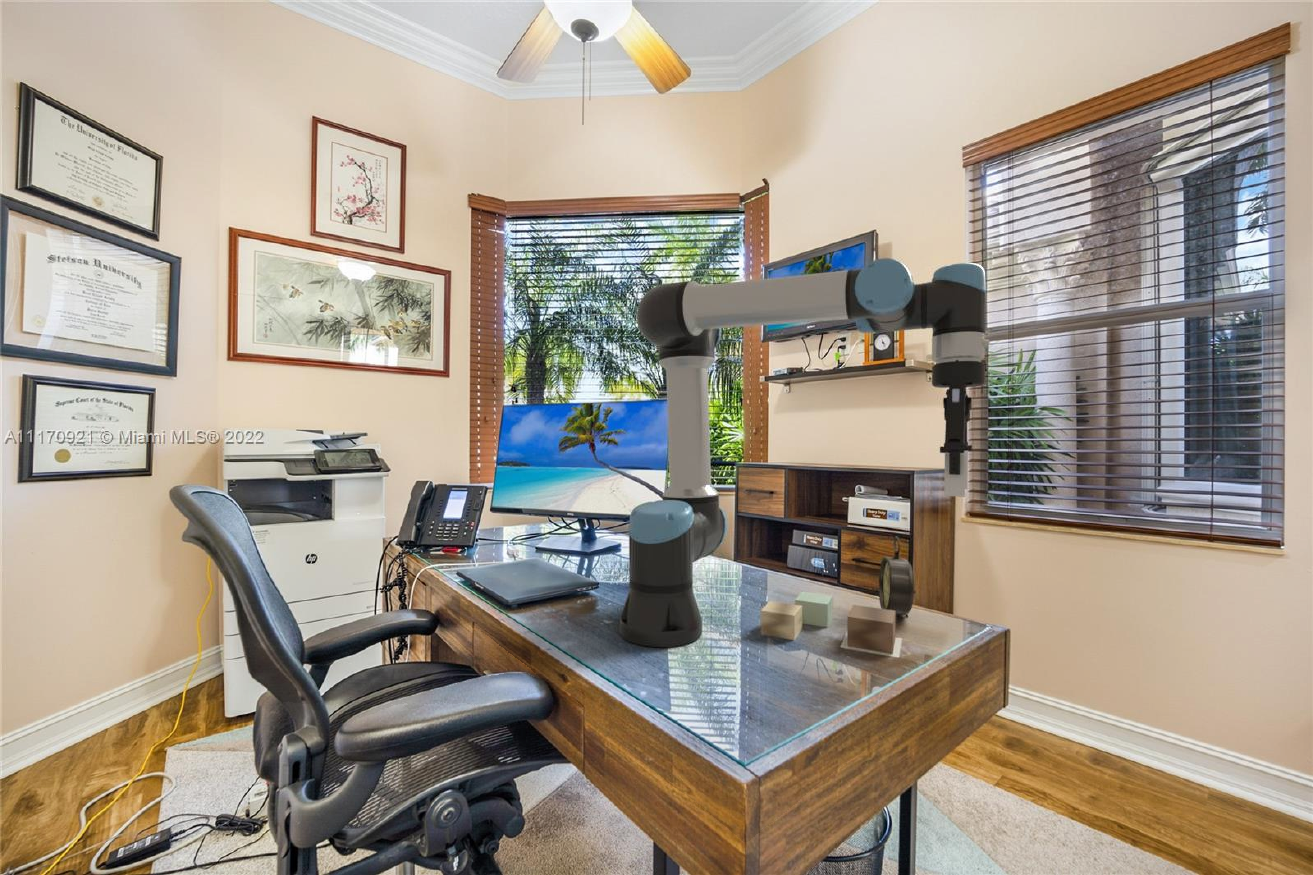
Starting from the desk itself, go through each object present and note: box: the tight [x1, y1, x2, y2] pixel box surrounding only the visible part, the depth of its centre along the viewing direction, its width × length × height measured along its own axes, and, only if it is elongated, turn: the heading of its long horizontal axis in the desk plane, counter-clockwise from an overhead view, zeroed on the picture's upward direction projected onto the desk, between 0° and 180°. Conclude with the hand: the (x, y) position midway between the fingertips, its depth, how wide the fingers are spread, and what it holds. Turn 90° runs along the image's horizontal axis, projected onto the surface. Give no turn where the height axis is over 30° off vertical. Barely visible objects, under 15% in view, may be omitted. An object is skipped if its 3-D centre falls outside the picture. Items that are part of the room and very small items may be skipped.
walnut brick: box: [846, 604, 896, 654], centre depth 91 cm, size 7×7×5 cm
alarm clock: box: [878, 536, 916, 624], centre depth 104 cm, size 11×5×16 cm, turn 167°
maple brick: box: [760, 600, 803, 641], centre depth 96 cm, size 6×6×5 cm
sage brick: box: [794, 591, 834, 628], centre depth 102 cm, size 6×6×5 cm
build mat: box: [840, 632, 903, 659], centre depth 91 cm, size 9×9×1 cm
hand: (956, 492), depth 87 cm, fingers open, 13 cm apart
